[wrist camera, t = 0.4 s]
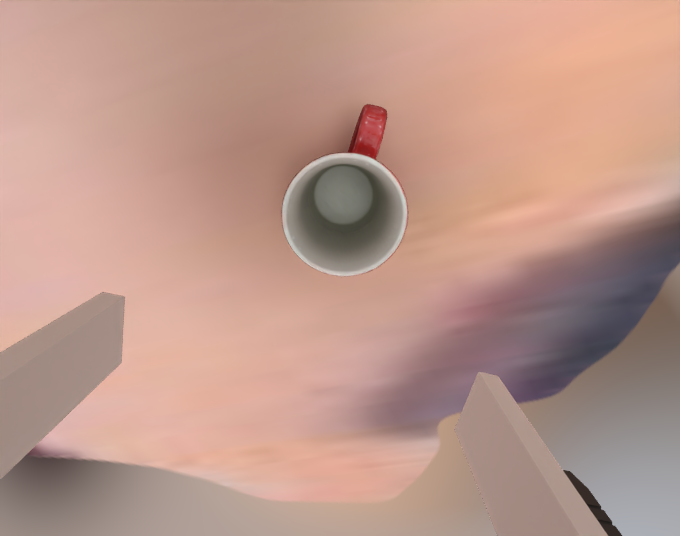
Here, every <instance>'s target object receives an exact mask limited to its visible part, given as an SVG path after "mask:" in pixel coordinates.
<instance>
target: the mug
mask: <svg viewBox="0 0 680 536" xmlns="http://www.w3.org/2000/svg"><path fill="white" fill-rule="evenodd" d="M386 120H387V111H386V110H385V109H384V108H382V107H379V106H375V105H370V104H367V105H365V106H364V107H363V109H362V111H361V114H360V116H359V119H358V122H357V125H356V128H355V131H354V134H353V137H352V141H351V144H350V147H349V150H348V152H341V153H333V154H328V155H326V156H322V157H320V158H318V159H315V160H314V161H312V162H310V163H309V164H307V165H306V166H305V167H303V168H302V169H301V170H300V171H299V172H298V173H297V174H296V175H295V177H294V178H293V180H292V181H291V183H290V184H289V186H288V188H287V190H286V192H285V195H284V199H283V203H282V212H281V217H282V226H283V230H284V234H285V236H286V239H287V241H288V243H289V245H290V246H291V248H292V250H293V251H294V252H295V253H296V255H297V256H298V257H299V258H300V259H301V260H302V261H304V262H305V263H306V264H308V265H309V266H311V267H312V268H314V269H316V270H318V271H320V272H323V273H325V274H330V275H334V276H355V275H360V274H363V273H367V272H369V271H372V270H373V269H375V268H377V267H379V266H380V265H382V264H383V263H384V262H385V261H387V260H388V259H389V258H390V257H391V256H392V255H393V253H394V252H395V251H396V250H397V248H398V247H399V245H400V243H401V241H402V239H403V237H404V234H405V231H406V227H407V222H408V205H407V200H406V196H405V193H404V190H403V188H402V186H401V184H400V182H399V181H398V179H397V178H396V176H395V175H394V174H393V173H392V172H391V171H390V170H389V169H388V168H387V167H386V166H384V165H383V164H381V163H380V162H378V161H377V160H376V157H377V154H378V151H379V148H380V144H381V141H382V138H383V134H384V130H385V125H386Z"/></svg>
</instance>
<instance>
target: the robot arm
mask: <svg viewBox="0 0 680 536" xmlns="http://www.w3.org/2000/svg"><path fill="white" fill-rule="evenodd" d="M124 304H125V297H124V296H120V295H115V294H110V293H105V292H102V293H100V294H98V295H97V296H95V297H93V298H92V299H90V300H88V301H87V302H85V303H83V304H81V305H80V306H78V307H76V308H75V309H73V310H71V311H70V312H68V313H66V314H65V315H63V316H61V317H60V318H58V319H56V320H54V321H53V322H51V323H49V324H48V325H46V326H44V327H43V328H41V329H39V330H38V331H36V332H34V333H33V334H31V335H29V336H27V337H26V338H24V339H22V340H21V341H19V342H17V343H16V344H14V345H12V346H11V347H9V348H7V349H6V350H4V351H2V352H0V479H1V478H2V477H3V476H4V475H5V474H7V473H8V472H9V470H11V469H12V468H13V467H14V466H15V465H16V464H17V463H18V462H19V461H20V460H21V459H22V458H23V457H24V456H25V455H26V454H27V453H28V452H29V451H30V450H31V449H33V448H34V447H35V446H36V445H37V444H38V443H39V442H40V441H41V440H42V439H43V438H44V437H45V436H46V435H47V434H48V433H49V432H50V431H51V430H52V429H53V428H54V427H55V426H56V425H57V424H58V423H59V422H61V421H62V420H63V419H64V418H65V417H66V416H67V415H68V414H69V413H70V412H71V411H72V410H73V409H74V408H75V407H76V406H77V405H78V404H79V403H80V402H81V401H82V400H83V399H84V398H85V397H86V396H87V395H89V394H90V393H91V392H92V391H93V390H94V389H95V388H96V387H97V386H98V385H99V384H100V383H101V382H102V381H103V380H104V379H105V378H106V377H107V376H108V375H109V374H110V373H111V372H112V371H113V370H114V369H116V368H117V367H118V366H119V365H120V364H121V362H122V343H123V324H124ZM455 432H456V434H457V437H458V439H459V442H460V444H461V447H462V449H463V452H464V454H465V457H466V459H467V461H468V464H469V467H470V469H471V472H472V474H473V477H474V479H475V481H476V484H477V487H478V489H479V491H480V494H481V496H482V499H483V501H484V504H485V506H486V509H487V511H488V514H489V516H490V519H491V521H492V524H493V526H494V529H495V531H496V534H497V536H622V535H621V533H620V532H619V531H618V529H617V528H616V527H615V526H613V525H612V521H611V520H610V518H609V517H608V516H607V514H606V513H605V511H604V510H601V506H600V504H599V503H598V502H597V500H596V499H595V498H594V496H593V495H592V493H591V492H590V491H589V489H588V488H587V487H586V486H584V484H583V483H582V482H580V481H579V480H578V479H577V478H576V477H575V476H574V475H573V474H572V473H571V472H570V471H565V470H562V468H561V467H560V465H559V464H558V462H557V461H556V460H555V458H554V457H553V455H552V454H551V452H550V451H549V450H548V448H547V446H546V445H545V444H544V442H543V441H542V439H541V438H540V436H539V435H538V433H537V432H536V431H535V429H534V428H533V426H532V425H531V423H530V422H529V420H528V419H527V417H526V416H525V415H524V413H523V412H522V410H521V409H520V407H519V406H518V404H517V403H516V402H515V400H514V399H513V397H512V396H511V394H510V393H509V391H508V390H507V388H506V387H505V386H504V384H503V383H502V381H501V380H500V378H499V377H498V376H496V375H491V374H487V373H482V372H478V374H477V377H476V379H475V382H474V384H473V386H472V389H471V391H470V394H469V396H468V398H467V401H466V403H465V405H464V408H463V410H462V413H461V415H460V417H459V420H458V422H457V425H456V427H455Z"/></svg>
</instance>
